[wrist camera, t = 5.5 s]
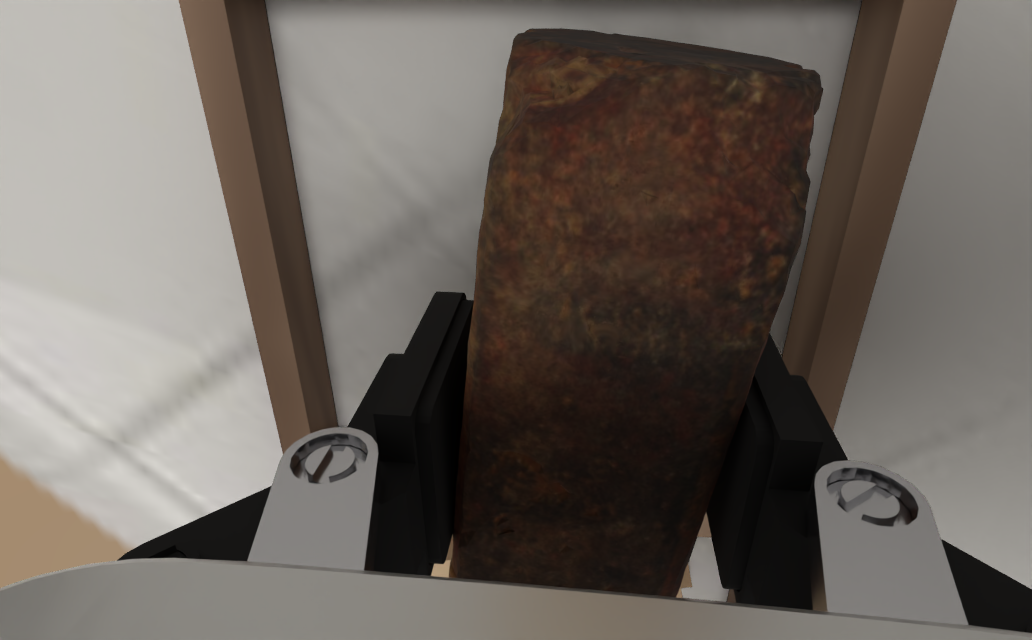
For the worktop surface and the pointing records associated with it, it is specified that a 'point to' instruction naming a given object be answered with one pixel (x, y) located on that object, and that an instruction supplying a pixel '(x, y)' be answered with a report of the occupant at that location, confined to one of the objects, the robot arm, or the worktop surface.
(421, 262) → the worktop surface
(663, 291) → the brick
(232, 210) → the rack
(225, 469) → the worktop surface
